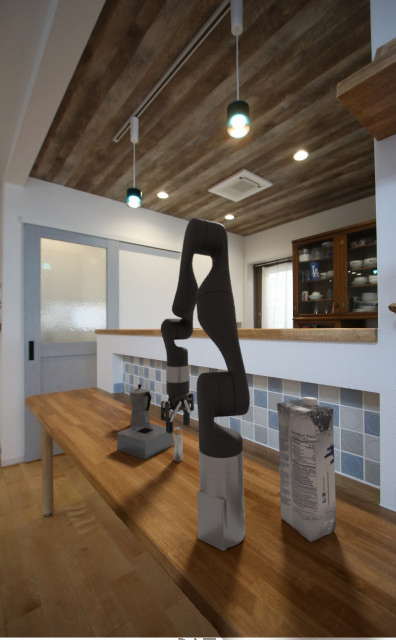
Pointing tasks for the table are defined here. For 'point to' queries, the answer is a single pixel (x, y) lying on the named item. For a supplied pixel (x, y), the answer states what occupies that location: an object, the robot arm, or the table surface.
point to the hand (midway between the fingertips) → (178, 428)
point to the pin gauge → (178, 444)
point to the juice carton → (307, 467)
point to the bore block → (144, 440)
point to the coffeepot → (140, 406)
